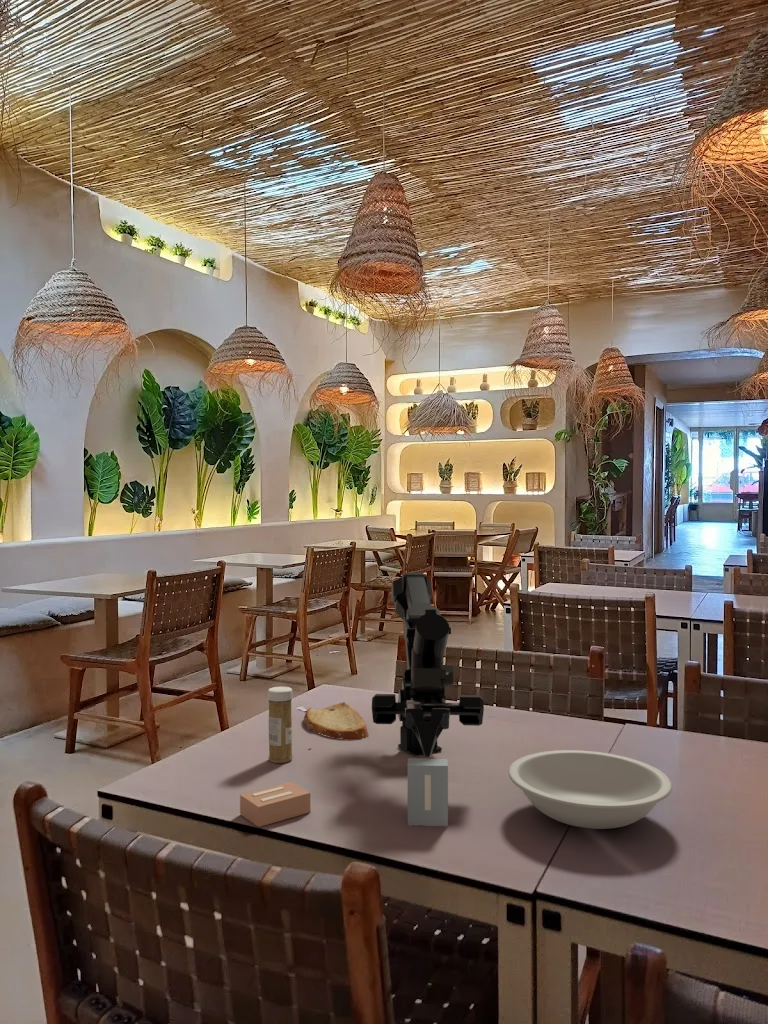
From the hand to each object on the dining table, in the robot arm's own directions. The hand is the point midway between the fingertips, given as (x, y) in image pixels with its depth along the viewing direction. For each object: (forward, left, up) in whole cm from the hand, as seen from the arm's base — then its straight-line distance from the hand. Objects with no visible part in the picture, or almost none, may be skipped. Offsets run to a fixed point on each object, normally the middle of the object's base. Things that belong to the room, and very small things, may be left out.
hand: (427, 756), depth 120 cm
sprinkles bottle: (+13, -30, -7) cm, 34 cm away
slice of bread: (-6, -45, -8) cm, 46 cm away
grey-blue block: (+4, +7, -7) cm, 11 cm away
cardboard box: (+19, -8, -5) cm, 21 cm away
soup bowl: (-18, +18, -7) cm, 26 cm away
